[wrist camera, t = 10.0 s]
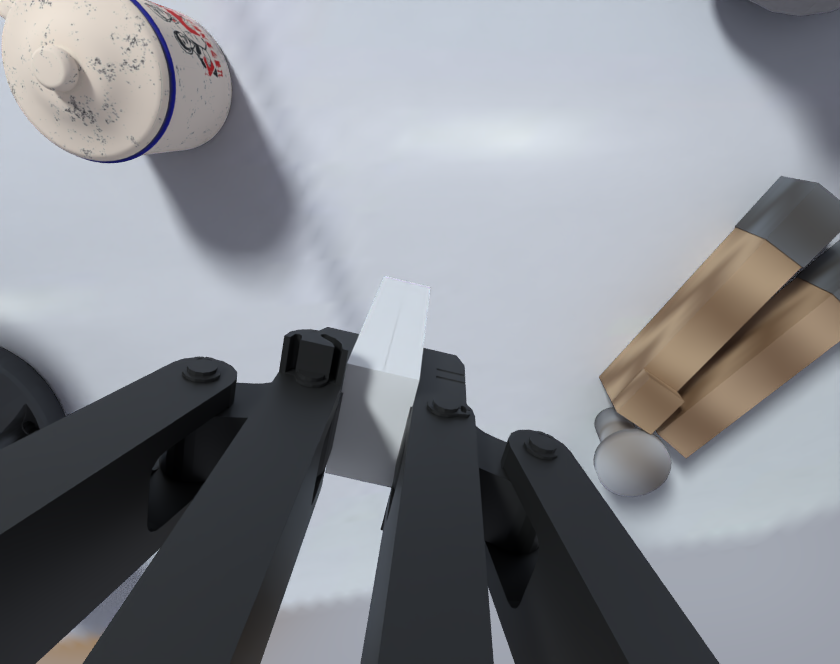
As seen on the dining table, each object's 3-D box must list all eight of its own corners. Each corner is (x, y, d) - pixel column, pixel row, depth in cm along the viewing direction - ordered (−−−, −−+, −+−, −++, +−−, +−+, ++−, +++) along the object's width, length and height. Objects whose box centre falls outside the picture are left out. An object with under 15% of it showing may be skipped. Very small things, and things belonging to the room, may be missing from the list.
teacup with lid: (260, 60, 36) (171, 36, 25) (203, 179, 39) (102, 203, 28) (93, -57, 34) (-82, -138, 23) (47, 78, 37) (-125, 61, 26)
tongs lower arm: (630, 459, 44) (647, 495, 40) (587, 423, 43) (599, 456, 39) (876, 263, 37) (928, 282, 33) (831, 215, 36) (878, 228, 32)
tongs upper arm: (615, 459, 44) (636, 508, 39) (556, 421, 44) (569, 465, 38) (847, 228, 36) (914, 248, 31) (781, 176, 36) (838, 186, 30)
